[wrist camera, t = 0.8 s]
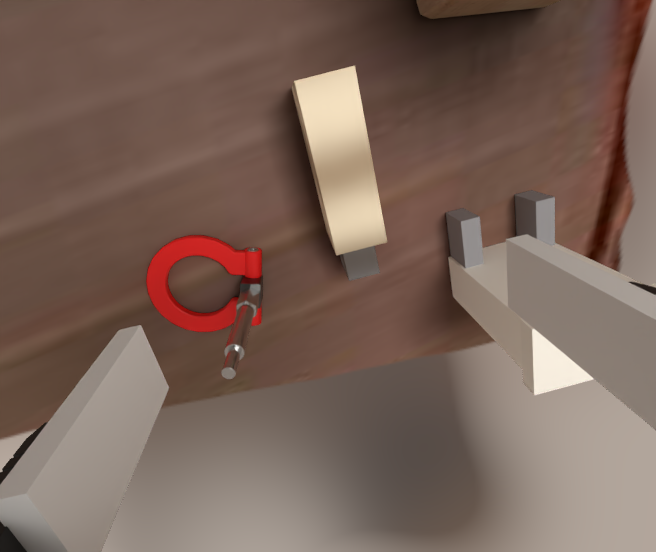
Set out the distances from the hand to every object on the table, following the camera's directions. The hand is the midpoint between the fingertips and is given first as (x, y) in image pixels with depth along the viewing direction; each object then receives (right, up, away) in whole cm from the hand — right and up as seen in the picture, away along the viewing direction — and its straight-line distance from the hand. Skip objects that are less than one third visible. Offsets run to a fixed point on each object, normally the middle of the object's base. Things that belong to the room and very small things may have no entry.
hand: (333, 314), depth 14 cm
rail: (+1, +9, +17) cm, 19 cm away
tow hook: (-10, +1, +19) cm, 22 cm away
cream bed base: (+14, +4, +21) cm, 25 cm away
